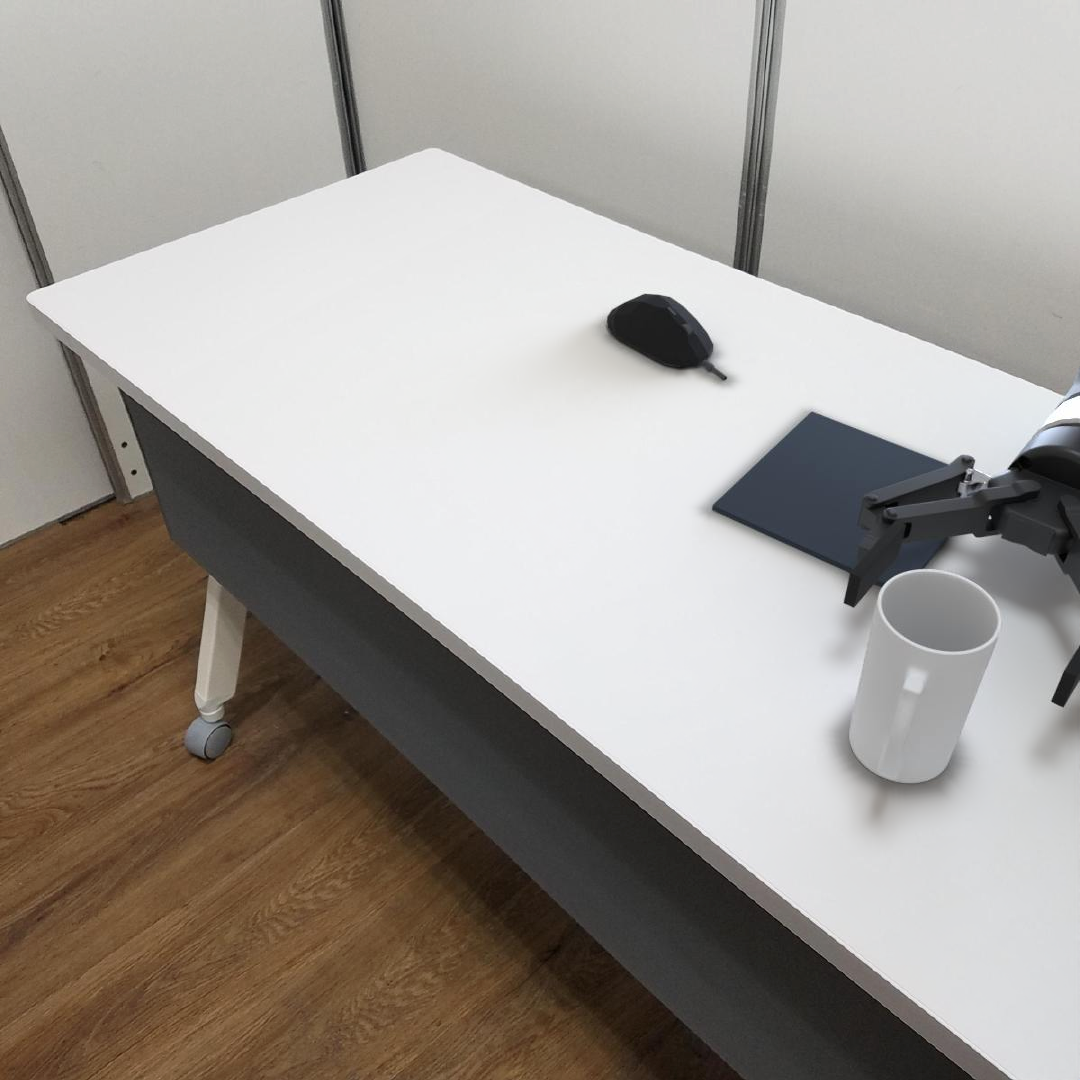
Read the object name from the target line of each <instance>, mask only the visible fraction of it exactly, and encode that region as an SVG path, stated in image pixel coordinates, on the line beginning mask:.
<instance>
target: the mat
mask: <svg viewBox="0 0 1080 1080" xmlns="http://www.w3.org/2000/svg"><path fill="white" fill-rule="evenodd" d="M949 464H950V463H947V462H944V461H941V460H938V459H936V458H934V457H931V456H928V455H925V454H924V453H921V452H917V451H915V450H913V449H910V448H907V447H906V446H902V445H899V444H897V443H894V442H893V441H889V440H887V439H884V438H883V437H882V438H881V437H880V436H876V435H873V434H871V433H869V432H866V431H864V430H860V429H859V428H856V427H853V426H851V425H849V424H846V423H843V422H840V421H839V420H835V419H833V418H830V417H829V416H825V415H823V414H820V413H817V412H815V411H810V412H809V413H808V414H807V415H806V416H805V417H804V418H803V419H802V420H801V421H800V422H798V424H796V425H795V427H793V428H792V429H791V430H790V431H789V432H788V433H787V434H786V435H785V436H784V437H783V438H782V439H780V440H779V441H778V443H777V444H775V445H774V446H773V447H772V448H771V449H770V450H769V451H768V452H767V453H766V454H765V455H764V456H763V457H762V458H760V460H759V461H757V462H756V463H755V464H754V465H753V466H752V467H751V468H750V469H749V470H748V471H747V472H746V473H745V474H744V475H742V476H741V478H739V480H737V482H735V483H734V484H733V485H732V486H731V487H730V488H729V489H728V490H727V491H726V492H724V494H723V495H722V496H721V497H720V498H718V499H717V500H716V501H715V502H714V503H713V504H712V505H711V511H714V512H716V513H718V514H720V515H722V516H725V517H726V518H729V519H731V520H733V521H736V522H738V523H739V524H742V525H743V526H746V527H748V528H751V529H752V530H753V529H754V530H755V531H756V532H759V533H761V534H764V535H765V536H768V537H770V538H772V539H774V540H777V541H779V542H782V544H783V543H784V544H786V545H788V546H790V547H792V548H795V549H797V550H799V551H801V552H803V553H805V554H807V555H810V556H812V557H814V558H817V559H819V560H820V561H823V562H825V563H828V564H830V565H831V566H834V567H836V568H838V569H841V570H842V571H844V572H847V573H848V574H850V572H851V571H852V570H853V569H854V568H855V567H856V565H857V564H858V562H856V558H857V553H858V548H859V544H860V541H861V539H862V538H863V537H864V536H865V535H866V534H867V533H868V532H869V530H863V529H861V528H860V527H859V526H858V520H859V515H860V510H861V506H862V501H863V496H864V495H865V494H867V493H870V492H872V491H875V490H878V489H881V488H884V487H887V486H890V485H893V484H896V483H899V482H902V481H905V480H908V479H911V478H914V477H917V476H920V475H923V474H926V473H929V472H932V471H935V470H938V469H941V468H944V467H947V466H948V465H949ZM975 493H976V492H973V493H970V494H967V497H968V496H973V495H974V494H975ZM957 498H958V497H957ZM948 538H949V537H945V538H939V539H932V540H925V541H918V542H912V543H905V544H901V547H900V551H899V555H898V556H897V557H896V558H895V560H894V561H893V562H892V563H891V564H890V566H889V567H888V568H887V569H886V570H885V572H884V573H883V574H882V575H881V576H880V578H879V579H878V580H877V581H876V582H875V584H874V585H876V586H878V587H880V588H882V587H883V586H884V584H885V583H886V582H887V581H888V580H890V579H891V578H893V577H894V576H896V575H898V574H901V573H904V572H907V571H912V570H919V569H926V567H927V565H928V564H929V563H930V562H931V560H932V559H933V558H934V557H935V555H936V554H937V552H938V551H939V550H940V549H941V548H942V547H943V545H944V544H945V543H946V541H947V540H948Z"/></svg>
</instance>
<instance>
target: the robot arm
mask: <svg viewBox="0 0 1080 1080" xmlns="http://www.w3.org/2000/svg"><path fill="white" fill-rule="evenodd" d="M948 464H949V465H948V466H947V467H944V468H941V469H938V470H935V471H932V472H929V473H926V474H923V475H920V476H917V477H914V478H911V479H908V480H905V481H902V482H899V483H896V484H893V485H890V486H887V487H884V488H881V489H878V490H875V491H872V492H870V493H867V494H865V495H864V496H863V501H862V506H861V510H860V515H859V520H858V526H859V527H860V528H861V529H863V530H869V532H868V533H867V534H866V535H865V536H864V537H863V538H862V539H861V541H860V544H859V548H858V553H857V558H856V562H858V564H857V565H856V567H855V568H854V569H853V570H852V571H851V572H850V573H849V575H848V580H847V584H846V585H847V586H846V589H845V594H844V598H843V604H844V605H846V606H849V607H851V608H853V609H855V607H857V605H858V604H859V603H860V602H861V600H863V598H864V597H865V596H866V594H867V593H869V591H870V590H871V589H872V587H873V586H874V585H875V582H876V581H877V580H878V579H879V578H880V576H881V575H882V574H883V573H884V572H885V570H886V569H887V568H888V567H889V566H890V564H891V563H892V562H893V561H894V560H895V558H896V557H897V556H898V555H899V551H900V547H901V544H905V543H912V542H918V541H925V540H932V539H939V538H945V537H948V538H951V537H959V536H965V535H973V536H974V537H975V538H979V539H980V538H987V537H992V536H1000V535H1001V536H1000V539H1003V540H1005V541H1007V542H1010V543H1012V544H1017V545H1021V546H1024V547H1026V548H1027V549H1029V550H1031V551H1032V552H1034V553H1036V554H1039V555H1041V556H1044V557H1047V555H1051V556H1052V555H1053V557H1054V559H1055V561H1056V563H1057V564H1058V566H1059V568H1060V570H1061V572H1062V574H1063V575H1065V576H1069V577H1070V579H1071V581H1072V583H1073V584H1074V587H1075V588H1076V591H1078V594H1079V595H1080V367H1079V368H1078V371H1077V373H1076V376H1075V378H1074V381H1073V384H1072V385H1071V387H1070V389H1069V391H1068V392H1067V393H1066V395H1065V396H1064V397H1063V398H1062V400H1061V401H1060V403H1058V405H1057V406H1056V408H1055V409H1054V410H1053V411H1052V412H1051V413H1050V415H1049V416H1048V417H1047V418H1046V420H1045V421H1044V422H1043V423H1042V424H1041V426H1040V427H1039V428H1038V429H1037V431H1036V432H1035V433H1034V434H1033V435H1032V437H1031V438H1030V439H1029V440H1028V442H1027V443H1026V445H1025V446H1024V447H1023V448H1022V449H1021V451H1020V452H1019V453H1018V455H1017V456H1015V458H1014V459H1013V461H1011V463H1010V464H1009V465H1008V467H1007V469H1006V470H1005V471H1003V472H1001V473H998V474H994V475H992V476H991V475H989V474H986V473H984V472H983V471H980V470H978V469H976V468H974V467H975V464H976V459H975V458H974V457H973V456H971V455H969V454H961V455H959V456H957V457H956V458H955V459H954V460H952V461H951V462H950V463H948ZM973 492H976V493H975V494H974V495H973V496H968V497H967V494H970V493H973ZM957 497H958V498H957ZM1079 682H1080V645H1079V646H1078V647H1077V649H1076V650H1075V652H1074V654H1073V655H1072V657H1071V658H1070V660H1069V662H1068V664H1067V665H1066V667H1065V669H1063V672H1062V675H1061V677H1060V678H1059V682H1058V684H1057V686H1056V689H1055V690H1054V693H1053V695H1052V698H1051V700H1050V703H1052V704H1055V705H1057V706H1059V707H1061V708H1064V707H1065V706H1066V704H1067V702H1068V701H1069V699H1070V698H1071V696H1072V695H1073V692H1074V691H1075V689H1076V687H1077V686H1078V684H1079Z"/></svg>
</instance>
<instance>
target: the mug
mask: <svg viewBox="0 0 1080 1080" xmlns="http://www.w3.org/2000/svg"><path fill="white" fill-rule="evenodd" d="M1002 624H1003V618H1002V613H1001V611H1000V608H999V606H998V604H997V602H996V601H995V600H994V597H992V596H991V595H990V593H988V591H986V590H985V589H984V588H983V587H981V586H980V585H979V584H977V583H975V581H973V580H970V579H969V578H967V577H964V576H962V575H960V574H957V573H954V572H952V571H951V572H950V571H946V570H941V569H933V568H924V569H919V570H912V571H907V572H904V573H901V574H898V575H896V576H894V577H893V578H891V579H890V580H888V581H887V582H886V583H885V584H884V586H883V587H880V590H879V593H878V596H877V600H876V604H875V608H874V612H873V616H872V620H871V625H870V629H869V634H868V639H867V642H866V643H867V644H866V648H865V652H864V658H863V663H862V667H861V672H860V677H859V681H858V686H857V690H856V694H855V699H854V703H853V709H852V715H851V720H850V724H849V730H848V741H849V744H850V747H851V750H852V752H853V754H854V755H855V757H856V759H857V760H858V761H859V762H860V763H861V764H862V765H863V766H864V767H865V768H867V769H868V771H870V772H872V773H874V774H875V775H877V776H879V777H881V778H883V779H884V780H885V779H886V780H889V781H891V782H894V783H895V782H896V783H902V784H919V783H924V782H928V781H930V780H933V779H935V778H936V777H938V776H939V775H941V774H942V773H943V772H944V770H945V769H946V768H947V766H948V764H949V763H950V760H951V758H952V757H953V754H954V751H955V749H956V747H957V745H958V742H959V739H960V737H961V734H962V731H963V729H964V726H965V724H966V721H967V719H968V716H969V714H970V711H971V708H972V705H973V703H974V700H975V698H976V696H977V693H978V691H979V688H980V686H981V683H982V682H983V678H984V675H985V673H986V672H987V671H986V670H987V668H988V665H989V663H990V660H991V658H992V655H993V652H994V650H995V648H996V644H997V642H998V639H999V635H1000V634H1001V630H1002V626H1003V625H1002Z"/></svg>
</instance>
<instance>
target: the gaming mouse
mask: <svg viewBox="0 0 1080 1080" xmlns="http://www.w3.org/2000/svg"><path fill="white" fill-rule="evenodd" d="M606 324H607V326H608V329H609V330H610V331H611V333H612V334H613V335H614V336H615V337H616V338H617V339H619V340H620V341H621V342H622V343H623V342H624V343H625V344H626V345H629V346H630V347H632V348H634V349H636V350H638V351H640V352H642V353H643V354H645V355H647V356H648V357H650V358H652V359H654V360H656V361H657V362H660V363H661V364H663V365H666V366H669V367H675V368H684V367H692V366H698V365H701V366H702V367H704V368H705V369H706V370H707V371H709V372H713V373H714V374H715V375H717V376H718V377H719V378H721V379H722V380H723V381H725V380H727V379H728V375H726V374H724V373H723V372H721V371H720V370H718V369H717V368H716V366H715V365H714V364H713V363H711V362H710V361H709V358H710V357H711V355H712V354H713V353H714V343H713V341H712V339H711V337H710V335H709V333H708V332H707V331H706V329H705V328H704V326H703V325H702V324H701V323H700V321H699V320H698V319H697V318H696V317H695V316H694V315H693V313H691V312H690V311H689V310H688V309H687V307H685V306H684V305H683V304H682V303H680V302H679V301H677V300H676V299H674V298H673V297H671V296H667V295H662V294H657V293H656V294H654V293H643V294H641V295H639V296H636V297H634V298H632V299H629V300H626V301H624V302H623V303H621V304H619V305H617V306H615V307H614V308H612V309H611V310H610V312H609V313H608V314H607V316H606Z"/></svg>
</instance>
